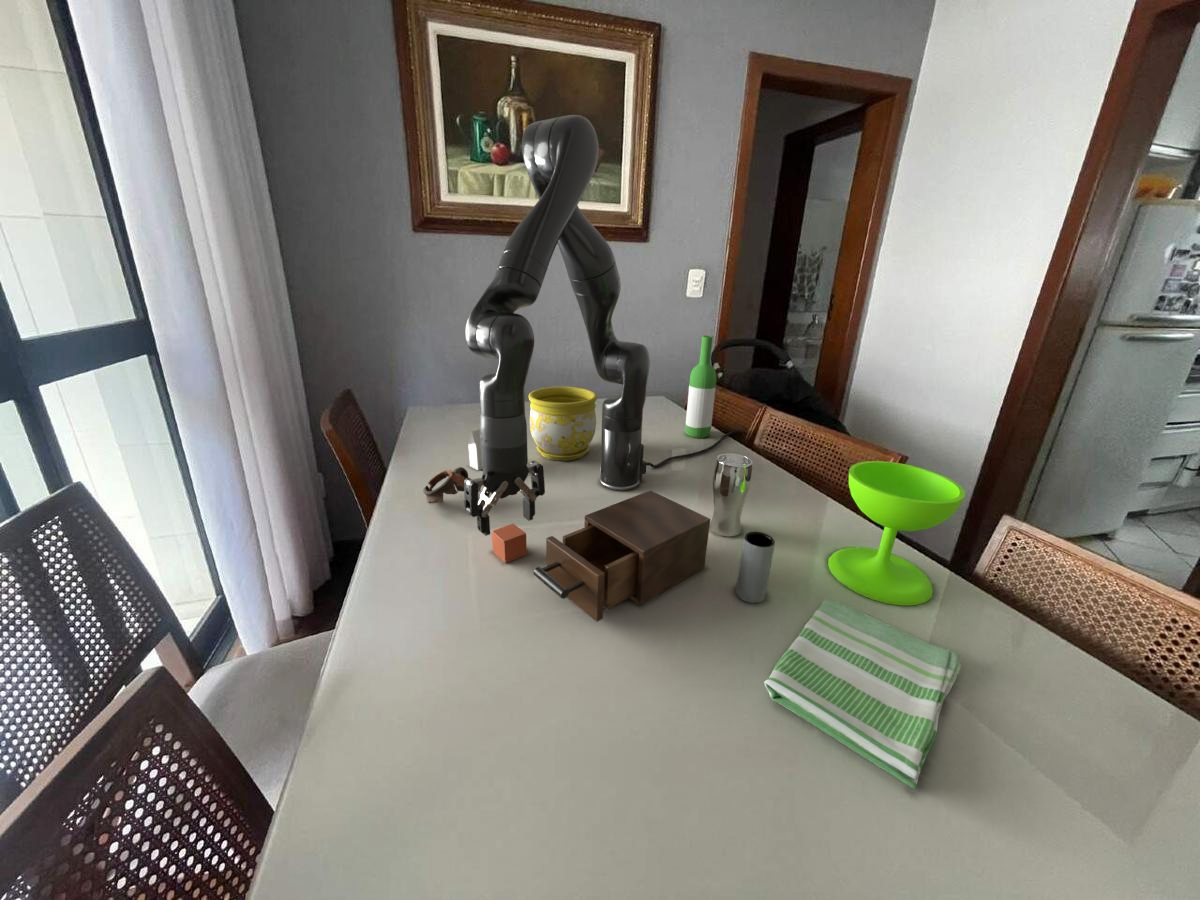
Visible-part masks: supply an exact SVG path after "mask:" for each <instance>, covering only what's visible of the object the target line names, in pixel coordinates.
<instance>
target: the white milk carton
mask: <svg viewBox="0 0 1200 900" xmlns="http://www.w3.org/2000/svg"><path fill="white" fill-rule="evenodd" d="M467 443H468V444H467V447H468V449H467V450H468V459H469V467H470V468H473V469H475V470H477V471H481V470H483V468H482V459H481V442H480V427H478V428H475V429H471V430H470V434H469V439H468V442H467Z"/></svg>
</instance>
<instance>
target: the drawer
mask: <svg viewBox="0 0 1200 900" xmlns="http://www.w3.org/2000/svg"><path fill="white" fill-rule="evenodd" d="M545 543H546V544H545V545H546V546H545V548H546V549H545V552H546V566H544V567H540V566H536V567H535V568H534V570H533V576H535V577H536V578H537V579H538V580H540V581H541V582H542V583H543V584H544V585H546V586H547V587H548V588H549V589H550V590H551V591H552V592H553V593H555V594H556V595H557V596H558V597H559V598H561V599H562V600H563V599H566V598H568V599H569V600H570V601H571V602H573V603H574V605H576V606H577V607H578V608H579V609H581V610H582V611H583V612H584V613H585V614H587V615H588V616H589V617H590V618H592V620H593V621H595V622H597V623H598V622H600V621H601V620H603V619H604V609H606V610H609V609H611V608H612V607H615V606H616V605H618V604H619V603H622V602H623V601H625V600H627V599H630V598H629V597H630V596H632V595H634V594H636V593H637V582H638V567H639V554H638V553H637V552H635V551H634V550H632V549H630V548H629V547H627V546H626V545H624V544H622V543H621V542H619V541H618V540H616V539H614V538H613V537H611V536H610V535H608V534H606V533H605V532H603V531H602V530H600V529H598V528H597V527H595V526H594V525H589V526H587V527H585V526H584V527H583V528H580V529H577V530H575V531H572V532H570V533H567V534H564V535H563V536H562V541H560V540H559V539H557V538H556V537H555V536H553V535H551V536H549V537H548V536H547V537H546V538H545Z"/></svg>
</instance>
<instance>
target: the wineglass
mask: <svg viewBox="0 0 1200 900" xmlns="http://www.w3.org/2000/svg"><path fill="white" fill-rule="evenodd" d="M848 487H849V491H850V496H851V497H852V499H853V501H854V502H855V504H856V506H857V508H858V509H859V510H860V511H861V512H862V513H863V514H864V515H866V516H867V517H868V518H869V519H870V520H872V521H873V522H874V523H876V524H877V525H880V526H883V527H884V528H883V532H882V535H881V539H880V541H879V542H880V543H879V547H878V549H876V548H873V547H864V546H850V547H845V548H840V549H838V550H837V551H835V552H833V553H831V556H830V557H829V558H828V560H827V561H828V562H827V563H828V564H827V567H828V569H829V571H830V573H831V575H832V576H833V577H834V578H835V579H836V580H837V581H838V582H839V583H840V584H842V585H843V586H844V587H846V588H847V589H849V590H851V591H853V592H854V593H856V594H858V595H860V596H862V597H864V598H865V597H866V598H868V599H871V600H872V601H876V602H879V603H884V604H887V605H895V606H903V607H904V606H907V607H908V606H918V605H921V604H925V603H927V602H928V601H929V600H930V599H932V596H933V594H934V590H933V585H932V582H931V581H930V579H929V578H928V576H927V575H926V574H925V572H923V570H921V569H920V568H919V567H918V566H916V565H915V564H913V563H912V562H910V561H909V560H907V559H905V558H903V557H900V556H898V555H896V554H894V553H892V551H893V548H894V545H895V541H896V537H897V534H898V531H901V532H902V531H903V532H916V531H921V530H922V531H923V530H927V529H931V528H933V527H936V526H938V525H940V524H942V523H943V522H945V521H947V520H948V519H950V518H951V517H952V516H953V515H954V514H955V513H956V512H957V511H958V510H959V508H960V506H961V505H962V503H963V501H964V499H965V497H966V491H965V490H964V487H962V486H961V485H960V484H959V483H957V481H954V480H952V479H951V478H949V477H947V476H945V475H942V474H941V473H937V472H935V471H933V470H929V469H927V468H923V467H919V466H915V465H910V464H907V463H900V462H893V461H883V460H867V461H859V462H857V463H854V464H852V465H851V466H850V467H849V469H848Z"/></svg>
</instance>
